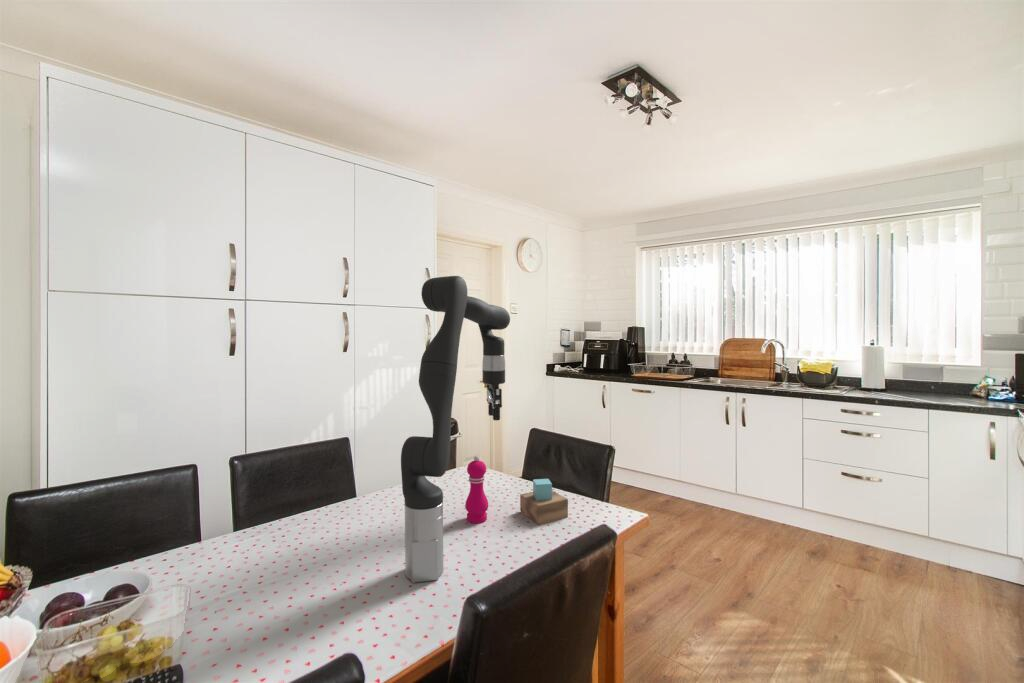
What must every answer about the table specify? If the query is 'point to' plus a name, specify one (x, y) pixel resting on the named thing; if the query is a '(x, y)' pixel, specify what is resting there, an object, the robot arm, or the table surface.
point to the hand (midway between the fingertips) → (494, 417)
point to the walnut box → (544, 507)
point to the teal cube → (542, 489)
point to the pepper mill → (476, 492)
